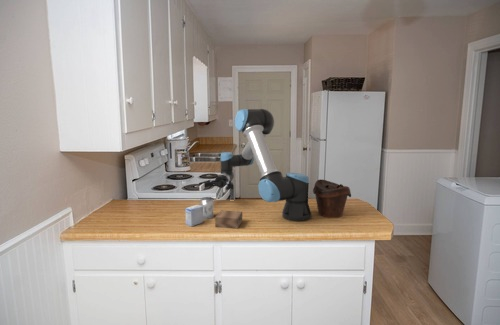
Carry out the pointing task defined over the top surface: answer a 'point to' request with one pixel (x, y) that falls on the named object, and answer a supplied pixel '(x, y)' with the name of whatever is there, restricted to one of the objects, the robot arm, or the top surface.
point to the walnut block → (228, 219)
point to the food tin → (207, 207)
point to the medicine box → (194, 215)
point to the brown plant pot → (330, 198)
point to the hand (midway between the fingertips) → (211, 189)
